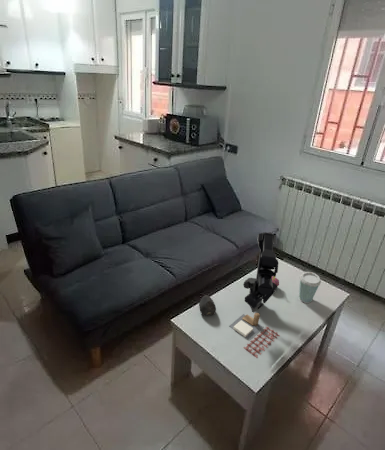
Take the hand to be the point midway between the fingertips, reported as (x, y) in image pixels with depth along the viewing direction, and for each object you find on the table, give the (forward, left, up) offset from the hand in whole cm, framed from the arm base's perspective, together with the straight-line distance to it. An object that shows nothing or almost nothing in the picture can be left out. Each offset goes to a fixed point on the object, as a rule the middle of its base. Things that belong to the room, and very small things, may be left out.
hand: (258, 307), depth 143 cm
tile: (+4, -2, -10) cm, 11 cm away
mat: (+4, -2, -11) cm, 12 cm away
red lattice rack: (+7, +8, -12) cm, 16 cm away
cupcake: (-31, -10, -12) cm, 34 cm away
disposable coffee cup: (-37, +8, -12) cm, 39 cm away
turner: (0, -3, -11) cm, 11 cm away
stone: (+11, -22, -12) cm, 27 cm away
